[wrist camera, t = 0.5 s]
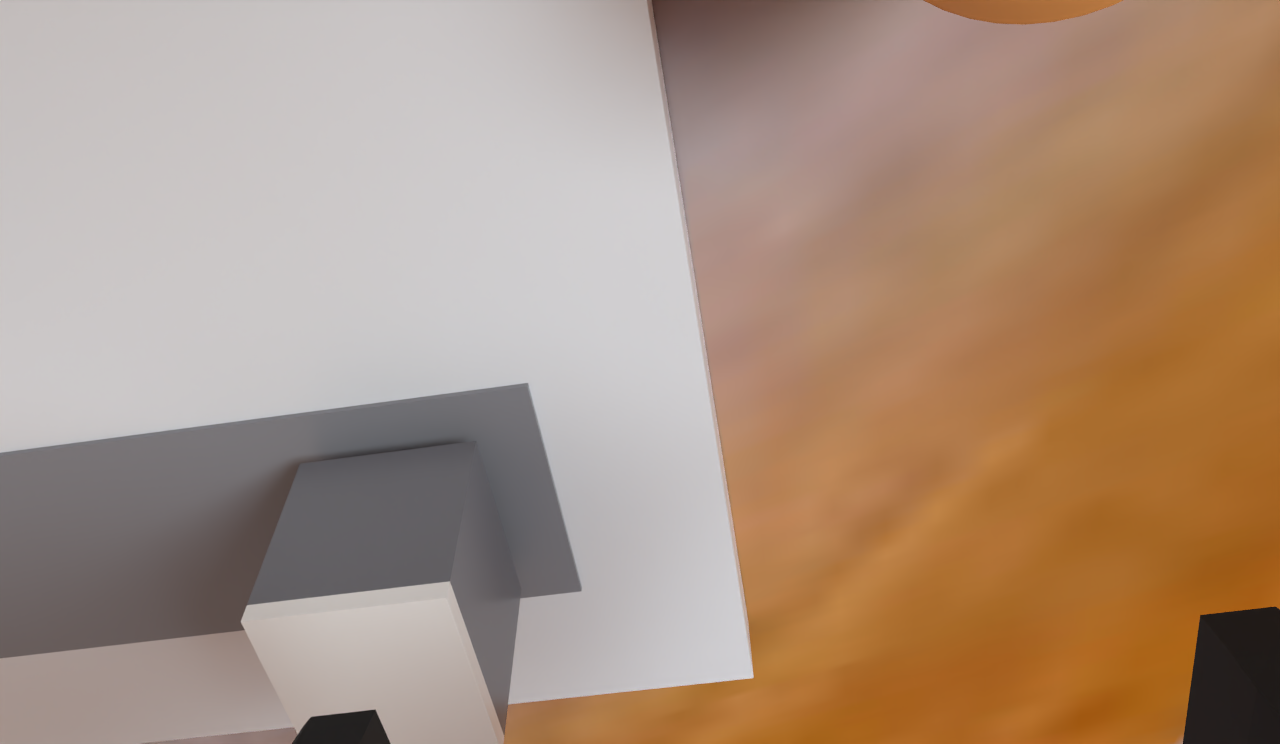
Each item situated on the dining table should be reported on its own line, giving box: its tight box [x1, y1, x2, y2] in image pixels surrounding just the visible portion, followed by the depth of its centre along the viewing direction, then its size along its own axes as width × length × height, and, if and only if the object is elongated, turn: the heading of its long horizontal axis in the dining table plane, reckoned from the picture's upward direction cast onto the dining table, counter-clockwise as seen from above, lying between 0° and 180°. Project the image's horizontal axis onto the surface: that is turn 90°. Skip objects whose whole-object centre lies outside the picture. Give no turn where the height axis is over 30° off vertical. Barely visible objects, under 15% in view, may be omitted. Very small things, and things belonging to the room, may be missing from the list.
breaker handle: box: [241, 441, 521, 744], centre depth 18 cm, size 3×3×3 cm
